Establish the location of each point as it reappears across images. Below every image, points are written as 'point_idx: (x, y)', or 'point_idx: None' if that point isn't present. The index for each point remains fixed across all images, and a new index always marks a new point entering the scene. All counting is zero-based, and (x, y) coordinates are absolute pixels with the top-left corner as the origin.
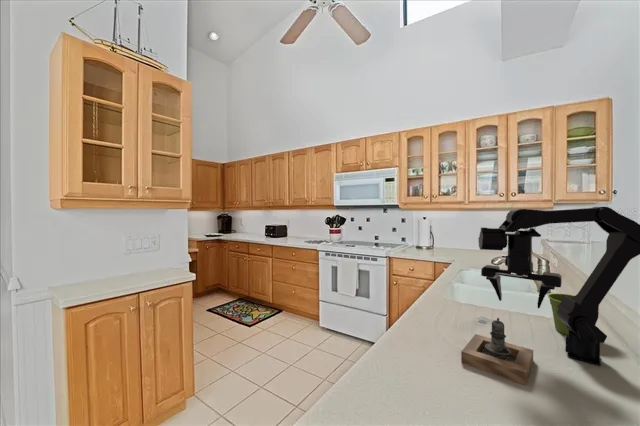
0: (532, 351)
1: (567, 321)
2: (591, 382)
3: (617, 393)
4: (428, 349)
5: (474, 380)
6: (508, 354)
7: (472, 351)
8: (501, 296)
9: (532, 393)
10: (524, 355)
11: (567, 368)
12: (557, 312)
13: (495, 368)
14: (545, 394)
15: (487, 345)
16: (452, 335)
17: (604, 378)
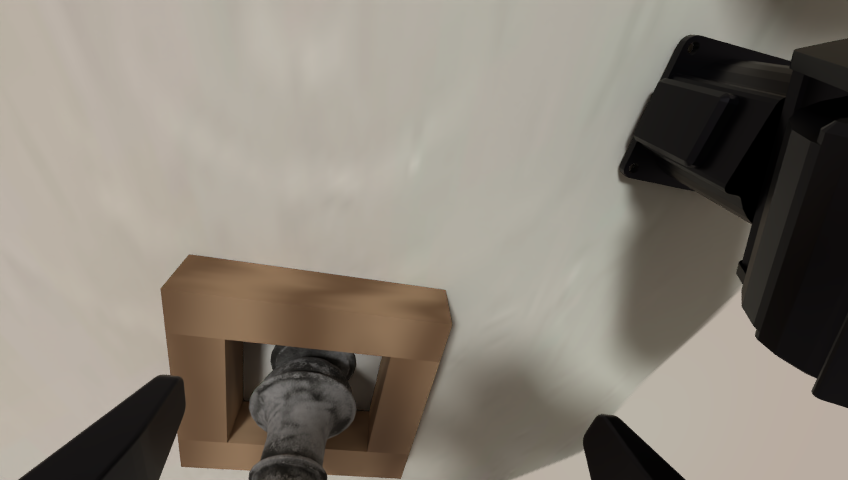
0: (445, 339)
1: (760, 332)
2: (601, 336)
3: (644, 359)
4: (48, 403)
5: None
6: (347, 427)
7: (217, 449)
8: (151, 438)
9: (411, 458)
10: (407, 387)
11: (563, 281)
12: (840, 148)
13: None
14: (442, 448)
15: (258, 412)
16: (34, 213)
17: (665, 289)
